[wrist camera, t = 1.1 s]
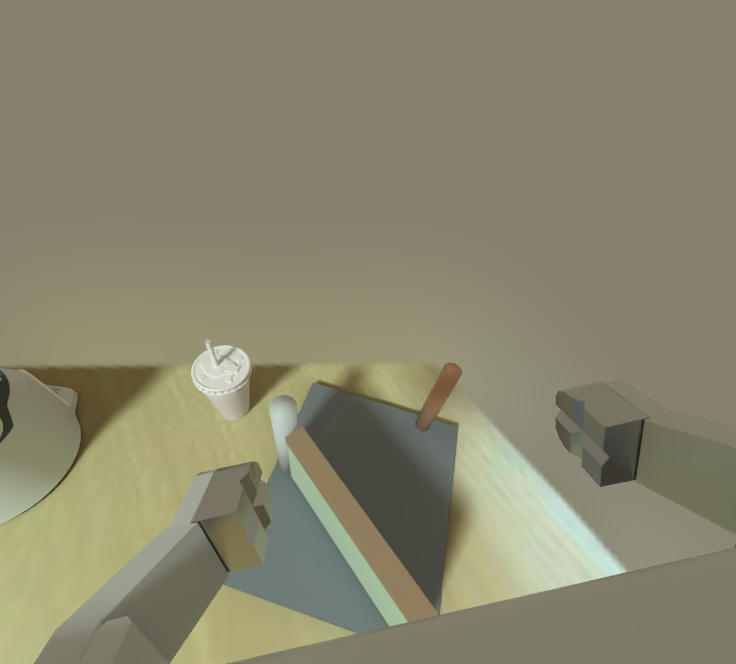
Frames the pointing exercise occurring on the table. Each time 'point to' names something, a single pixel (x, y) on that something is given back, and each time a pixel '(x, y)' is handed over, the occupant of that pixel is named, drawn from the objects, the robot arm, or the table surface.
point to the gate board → (372, 492)
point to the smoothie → (224, 379)
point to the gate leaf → (356, 535)
